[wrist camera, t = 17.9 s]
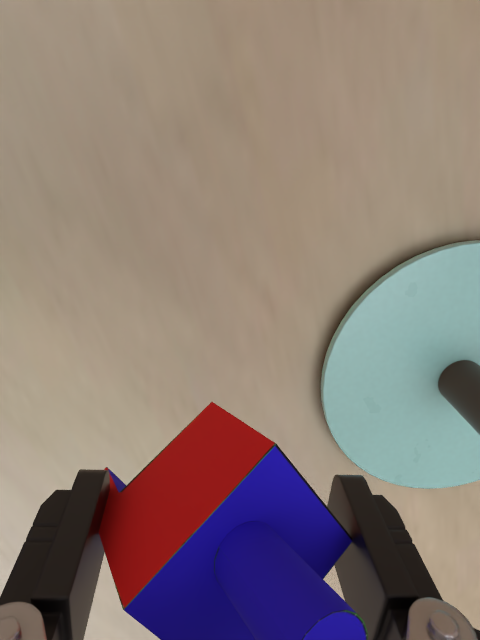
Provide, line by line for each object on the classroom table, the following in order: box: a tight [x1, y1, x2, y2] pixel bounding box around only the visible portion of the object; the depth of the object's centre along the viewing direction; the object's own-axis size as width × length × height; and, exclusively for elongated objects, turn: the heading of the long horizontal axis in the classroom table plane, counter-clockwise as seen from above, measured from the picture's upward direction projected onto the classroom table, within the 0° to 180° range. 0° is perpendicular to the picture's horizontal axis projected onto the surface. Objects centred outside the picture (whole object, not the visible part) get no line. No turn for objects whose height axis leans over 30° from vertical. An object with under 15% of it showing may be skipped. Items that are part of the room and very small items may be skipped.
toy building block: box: [99, 402, 368, 640], centre depth 11 cm, size 4×4×8 cm
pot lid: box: [321, 240, 480, 489], centre depth 24 cm, size 16×16×6 cm
